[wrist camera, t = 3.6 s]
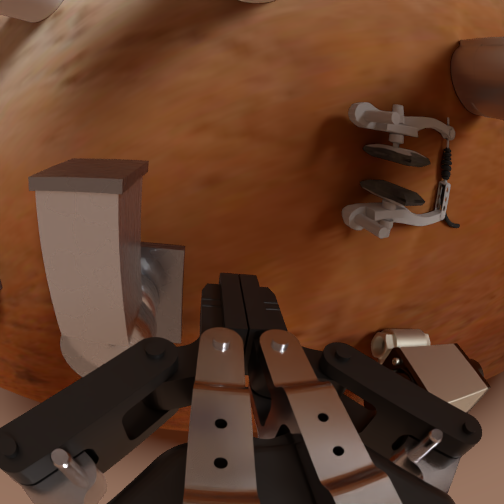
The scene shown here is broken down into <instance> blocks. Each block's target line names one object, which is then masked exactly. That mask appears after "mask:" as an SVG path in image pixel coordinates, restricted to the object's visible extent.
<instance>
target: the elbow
mask: <svg viewBox="0 0 504 504" xmlns="http://www.w3.org/2000/svg"><path fill="white" fill-rule="evenodd" d="M148 162H149V161H142V160H121V159H71V160H68V161H65V162H63V163H60V164H58V165H55V166H53V167H50V168H48V169H46V170H43V171H41V172H39V173H36V174H34V175H32V176H30V177H29V191H36V206H37V217H38V226H39V234H40V242H41V248H42V255H43V260H44V266H45V271H46V276H47V281H48V286H49V290H50V294H51V299H52V303H53V306H54V310H55V314H56V318H57V321H58V325H59V328H60V331H61V335H62V336H61V339H60V348H61V352H62V354H63V356H64V358H65V360H66V362H67V363H68V364H69V366H70V367H71V368H72V369H73V370H74V371H75V372H76V373H78V374H79V375H80V376H81V377H84V376H86V375H87V374H89V373H90V372H92V371H93V370H95V369H97V368H98V367H100V366H101V365H103V364H105V363H106V362H108V361H109V360H111V359H112V358H114V357H116V356H117V355H119V354H120V353H122V352H123V351H125V350H127V349H128V348H130V347H131V346H133V345H134V344H136V343H138V342H139V341H141V340H143V339H145V338H149V337H156V334H157V323H156V320H155V317H154V315H153V313H152V312H151V310H150V309H149V308H148V306H147V305H146V304H145V303H144V302H143V301H142V285H141V196H142V177H143V175H145V174H146V173H147V172H148Z"/></svg>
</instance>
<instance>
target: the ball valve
mask: <svg viewBox="0 0 504 504" xmlns="http://www.w3.org/2000/svg"><path fill="white" fill-rule="evenodd" d="M371 351H372V355H373V356H374V357H376V358H379V359H378V363H380V364H381V365H383V366H385V367H387V368H388V369H390V370H392V371H393V372H395V373H397V374H399V375H400V376H402V377H404V378H405V379H407V380H409V381H411V382H412V383H414V384H416V385H418V386H419V387H421V388H423V389H425V390H426V391H428V392H430V393H432V394H433V395H435V396H437V397H439V398H441V399H442V400H444V401H446V402H448V403H450V404H451V405H453V406H455V407H457V408H459V409H460V410H462V411H464V412H466V413H468V412H469V411H470V410H471V409H472V408H473V407H474V406H475V404H476V403H477V402H478V401H479V400H480V399H481V398H482V397H483V396H484V395H485V393H486V392H487V391H488V390H489V389H490V385H489V384H488V382H486V380H485V378H484V375H483V370H482V368H481V366H480V364H479V363H478V362H477V361H475V360H473V359H469V358H468V356H467V355H466V354H465V353H464V351H463V350H462V349H461V348H460V347H459V345H458V344H457V343H456V344H445V345H432V346H430V339H429V336H428V334H425V333H424V332H423V331H422V330H419V329H385V330H383V331H382V332H377V333H376V334H375V336H374V337H373V339H372V342H371ZM364 407H365V408H366V409H368V410H371V411H375V410H376V408H375V407H374V406H373V405H372V404H370V403H369V402H367V401H366V400H364Z"/></svg>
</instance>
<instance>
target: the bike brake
mask: <svg viewBox="0 0 504 504" xmlns="http://www.w3.org/2000/svg"><path fill="white" fill-rule="evenodd" d="M348 115H349V119H350V120H351V121H352V122H353V123H354V124H355V125H356V126H358V127H362V128H369V129H374V130H380V131H385V132H391V133H390V134H389V141H390V142H392V143H393V146H390V145H383V144H372V145H365V146H364V148H363V150H364V151H365V152H367V153H368V154H370V155H371V156H374V157H378V158H382V159H386V160H389V161H393V162H396V163H400V164H403V165H407V166H415V167H423V166H427V165H429V164H430V161H429V159H428V158H426V157H425V156H423V155H421V154H419V153H417V152H415V151H412V150H408V149H403V148H399V144H403V143H404V136H403V135H406V136H413V137H418V131H419V130H421V129H424V128H433V129H435V130H436V131H438V132H440V133H441V135H442V137H443V138H444V139H447V148H446V149H444V151H445V152H444V153H443V155H445V156H443V159H445V160H442V163H443V164H444V165H442V166H441V167H442V169H443V170H442V178H443V179H444V180H443V181H440V182H439V187H438V193H437V199H436V205H435V210H434V211H432V212H429V213H425V214H414V213H412V212H410V211H409V210H408V209H407V208H405V207H404V206H418V205H423V204H424V203H425V201H424V200H423V199H422V198H421V197H420V196H419V195H418V194H417V193H415V192H413V191H411V190H408V189H405V188H403V187H400V186H398V185H395V184H392V183H390V182H387V181H384V180H365V181H361V182H360V185H361V187H362V188H364V189H366V190H367V191H369V192H370V193H372V194H374V195H376V196H379V197H381V198H383V201H382V203H358V204H353V205H347V206H346V207H344V208H343V209H342V217H343V221H344V223H345V224H346V225H347V226H349V227H350V228H352V229H355V230H362V229H363V228H364V229H366V230H368V231H369V232H371V233H373V234H374V235H376V236H378V237H379V238H381V239H382V238H384V237H388V236H389V233H390V230H391V228H392V227H393V222H398V223H404V224H410V225H415V226H425V225H429V224H432V223H435V222H438V221H440V220H443V219H444V220H445V221H446V223H447V224H448V225H449V226H451V227H453V228H459V227H460V225H459V224H454V223H452V222H451V221H450V220H449V219H448V217H447V214H446V208H447V203H448V197H449V192H450V184H449V183H447V180H448V179H449V177H450V172H449V171H451V166H449V165H451V164H452V162H451V161H449V160H451V158H450V156H451V153H449V152H451V150H450V148H449V140H453V139H454V137H455V131H454V128H453V127H451V126H449V118H448V117H447V125H446V124H444V123H442V122H441V121H438V120H436V119H434V118H428V117H415V116H404V110H403V106H402V105H397V104H393V108H392V112H389V111H381V110H379V109H377V108H375V107H374V106H373V105H372V104H370V103H367V102H360V103H354V104H352V105H351V107H350V108H349V112H348ZM400 134H401V135H400ZM440 185H441V190H440ZM447 187H448V191H447V192H446V190H447ZM439 194H440V198H439V199H438V196H439ZM445 197H446V201H445ZM437 204H438V208H437ZM440 205H441V210H439V209H440Z"/></svg>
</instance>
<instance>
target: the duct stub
mask: <svg viewBox="0 0 504 504" xmlns="http://www.w3.org/2000/svg"><path fill="white" fill-rule="evenodd" d="M184 255H185V246H179V245H168V244H157V243H147V242H141V285H142V301H143V302H144V303H145V304H146V305H147V306H148V308H149V309H150V310H151V312H152V313H153V315H154V317H155V320H156V323H157V334H156V337H161V338H165V339H167V340H169V341H171V342H172V343H181V328H182V294H183V273H184Z"/></svg>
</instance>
